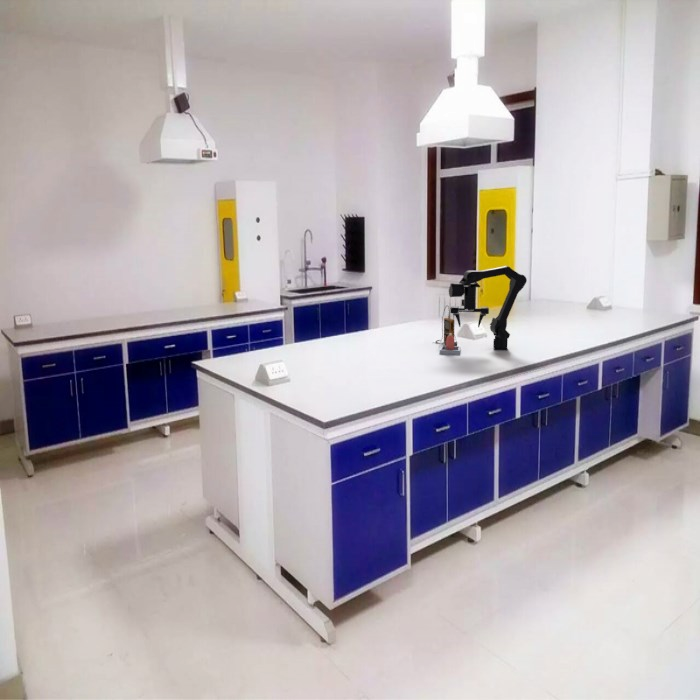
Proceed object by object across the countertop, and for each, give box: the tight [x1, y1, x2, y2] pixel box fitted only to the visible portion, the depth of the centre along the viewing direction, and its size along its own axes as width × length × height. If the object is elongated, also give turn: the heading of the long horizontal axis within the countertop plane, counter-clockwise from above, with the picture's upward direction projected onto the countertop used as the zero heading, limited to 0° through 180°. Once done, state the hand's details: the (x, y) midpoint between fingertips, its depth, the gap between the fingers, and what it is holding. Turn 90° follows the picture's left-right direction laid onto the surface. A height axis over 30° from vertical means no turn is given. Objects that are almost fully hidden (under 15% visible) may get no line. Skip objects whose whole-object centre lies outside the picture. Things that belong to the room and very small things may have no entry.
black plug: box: [441, 341, 458, 346], centre depth 325 cm, size 7×4×4 cm, turn 78°
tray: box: [439, 345, 462, 356], centre depth 317 cm, size 10×10×2 cm
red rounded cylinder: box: [446, 333, 455, 350], centre depth 316 cm, size 4×4×9 cm
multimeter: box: [432, 304, 457, 345], centre depth 335 cm, size 15×10×20 cm
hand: (469, 327), depth 318 cm, fingers open, 9 cm apart
